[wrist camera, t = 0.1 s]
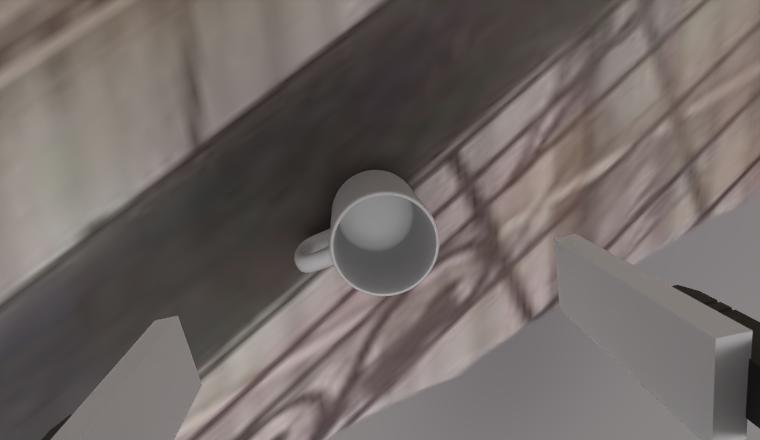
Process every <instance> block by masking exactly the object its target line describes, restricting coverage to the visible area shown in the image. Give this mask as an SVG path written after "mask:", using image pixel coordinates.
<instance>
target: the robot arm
mask: <svg viewBox="0 0 760 440" xmlns="http://www.w3.org/2000/svg"><path fill="white" fill-rule="evenodd" d="M554 240H555V253H556V266H557V279H558V292H559V305H560V310H561V311H562V312H564V313H565V314H566V315H567V316H568V317H569V318H570V319H571V320H572V321H573V322H574V323H575V324H576V325H578V326H579V327H580V328H581V329H582V330H583V331H584V332H585V333H586V334H587V335H588V336H589V337H590V338H591V339H593V340H594V341H595V342H596V343H597V344H598V345H599V346H600V347H601V348H602V349H603V350H605V352H606V353H608V354H609V355H610V356H611V357H612V358H613V359H614V360H615V361H616V362H617V363H618V364H619V365H620V366H621V367H623V368H624V369H625V370H626V371H627V372H628V373H629V374H630V375H631V376H632V377H633V378H634V379H636V380H637V381H638V382H639V383H640V384H641V385H642V386H643V387H644V388H645V389H646V390H647V391H648V392H649V393H651V394H652V395H653V396H654V397H655V398H656V399H657V400H658V401H659V402H660V403H661V404H662V405H663V406H665V407H666V409H668V410H669V411H670V412H671V413H672V414H673V415H674V416H675V417H676V418H677V419H679V420H680V422H682V423H683V424H684V425H685V426H686V427H687V428H688V429H689V430H690V431H691V432H692V433H693V434H695V436H697V437H698V438H699V439H700V440H746V433H747V419H748V420H750V421H751V422H752V423H753V424H755V425H756V426H757V427H759V428H760V322H758V321H756V320H754V319H752V318H750V317H748V316H747V315H745V314H743V313H741V312H739V311H737V310H732V308H731V307H729V306H727V305H725V304H723V303H721V302H719V303H718V302H717V300H716V299H714V298H712V297H710V296H708V295H706V294H704V293H702V292H700V291H697V290H693V289H690V288H686V287H683V286H679V285H675V286H670V285H668V284H666V283H665V282H663V281H661V280H659V279H657V278H655V277H654V276H652V275H650V274H648V273H646V272H644V271H643V270H641V269H639V268H637V267H635V266H633V265H632V264H630V263H628V262H626V261H624V260H622V259H621V258H619V257H617V256H615V255H613V254H611V253H610V252H608V251H606V250H604V249H602V248H601V247H599V246H597V245H595V244H593V243H591V242H590V241H588V240H586V239H584V238H582V237H580V236H579V235H577V234H573V235H568V236H563V237H558V238H554ZM201 385H202V384H201V381H200V378H199V375H198V373H197V370H196V367H195V364H194V361H193V358H192V355H191V352H190V350H189V347H188V344H187V341H186V338H185V335H184V332H183V329H182V327H181V324H180V321H179V318H178V316H174V317H169V318H165V319H160V320H155V321H154V322H153V323H152V324H151V326H150V327H149V328H148V329H147V330H146V331H145V332H144V334H143V335H142V336H141V337H140V338H139V339H138V340H137V342H136V343H135V344H134V345H133V346H132V347H131V348H130V350H129V351H128V352H127V353H126V354H125V355H124V356H123V358H122V359H121V360H120V361H119V362H118V363H117V364H116V366H115V367H114V368H113V369H112V370H111V371H110V372H109V374H108V375H107V376H106V377H105V378H104V379H103V380H102V381H101V383H100V384H99V385H98V386H97V387H96V388H95V389H94V391H93V392H92V393H91V394H90V395H89V396H88V397H87V399H86V400H85V401H84V402H83V403H82V404H81V405H80V407H79V408H78V409H77V410H76V411H75V412H74V413H73V414H72V415H70V416H68V417H67V418H66V419H64V420H63V421H62V422H60V423H59V424H58V425H57V426H55V427H54V428H53V429H51V430H50V431H49V432H48V433H47V434H46V435H45V437H44V438H43V439H42V440H174V439H175V437H176V435H177V433H178V431H179V429H180V427H181V425H182V423H183V421H184V419H185V417H186V415H187V413H188V411H189V409H190V407H191V405H192V403H193V401H194V399H195V397H196V395H197V393H198V391H199V389H200V387H201Z"/></svg>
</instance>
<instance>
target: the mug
mask: <svg viewBox="0 0 760 440" xmlns="http://www.w3.org/2000/svg"><path fill="white" fill-rule="evenodd" d="M323 248H324V249H323ZM321 249H322V250H321ZM438 251H439V233H438V229H437V225H436V223H435V220H434V218H433V217H432V215H431V213H430V212H429V210H428V209H427V208H426V207H425V205H424V204H423V203H422V202H421V201H420V199H419V198H418V197H417V196H416V194H415V193H414V192H413V190H412V189H411V188H410V186H409V185H408V184H407V183H406V182H405V181H404V180H403V179H401V178H400V177H399V176H397V175H395V174H393V173H390V172H387V171H383V170H368V171H364V172H360V173H358V174H356V175H354V176H352V177H351V178H349V179H348V180H347V181H346V182H345V183H344V184H343V185H342V186H341V187H340V189H339V190H338V192H337V194H336V196H335V198H334V201H333V205H332V216H331V228H330V229H328V230H326V231H323V232H321V233H318V234H316V235H313V236H311V237H309V238H307V239H306V240H304V241H303V242H302V243H301V244H300V245H299V246H298V248H297V250H296V252H295V263H296V265H297V267H298V269H299V270H300V271H302V272H307V273H309V272H314V271H318V270H321V269H324V268H327V267H330V266H333V265H334V266H335V268H336V270H337V272H338V273H339V275H340V276H341V277H342V278H343V279H344V280H345V281H346V282H347V283H348V284H349V285H350V286H352V287H353V288H355V289H357V290H359V291H361V292H363V293H366V294H370V295H375V296H391V295H397V294H400V293H403V292H405V291H408V290H410V289H411V288H413V287H415V286H416V285H418V284H419V283H420V282H421V281H422V280H423V279H424V278H425V277H426V276H427V275H428V274H429V272H430V271H431V269H432V268H433V266H434V264H435V261H436V259H437V255H438Z"/></svg>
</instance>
